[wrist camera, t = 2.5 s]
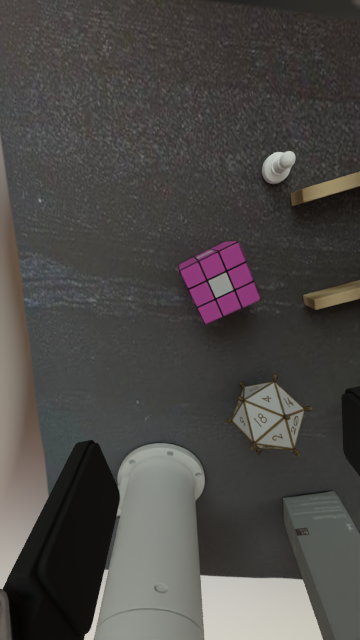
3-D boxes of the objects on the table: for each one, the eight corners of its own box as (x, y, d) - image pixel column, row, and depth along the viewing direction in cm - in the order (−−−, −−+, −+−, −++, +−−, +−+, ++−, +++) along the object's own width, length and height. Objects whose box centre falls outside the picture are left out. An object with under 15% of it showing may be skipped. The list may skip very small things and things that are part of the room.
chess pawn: (256, 165, 24) (269, 153, 20) (280, 148, 23) (297, 133, 20) (269, 189, 24) (283, 181, 21) (292, 173, 24) (310, 162, 21)
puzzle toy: (245, 288, 28) (261, 299, 22) (199, 309, 28) (204, 325, 23) (226, 240, 26) (238, 240, 21) (178, 264, 27) (178, 270, 21)
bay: (304, 304, 28) (315, 310, 26) (290, 194, 25) (302, 188, 22) (401, 279, 27) (423, 282, 25) (402, 160, 24) (427, 151, 21)
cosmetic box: (334, 488, 37) (441, 658, 22) (333, 520, 39) (430, 695, 24) (278, 496, 37) (346, 667, 22) (280, 527, 40) (343, 703, 25)
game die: (246, 367, 35) (281, 353, 25) (293, 411, 33) (348, 413, 24) (205, 416, 32) (227, 421, 23) (254, 465, 31) (300, 493, 21)
